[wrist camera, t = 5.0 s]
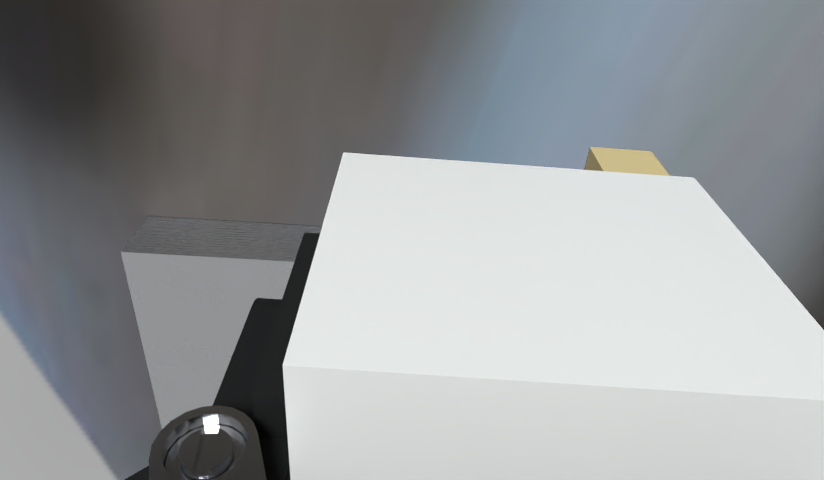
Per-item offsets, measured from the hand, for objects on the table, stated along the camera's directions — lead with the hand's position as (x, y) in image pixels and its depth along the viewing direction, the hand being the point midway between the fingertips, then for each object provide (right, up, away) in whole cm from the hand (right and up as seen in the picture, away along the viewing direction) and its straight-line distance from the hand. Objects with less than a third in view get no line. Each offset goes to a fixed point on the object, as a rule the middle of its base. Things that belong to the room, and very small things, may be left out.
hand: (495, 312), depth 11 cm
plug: (0, +1, +2) cm, 2 cm away
